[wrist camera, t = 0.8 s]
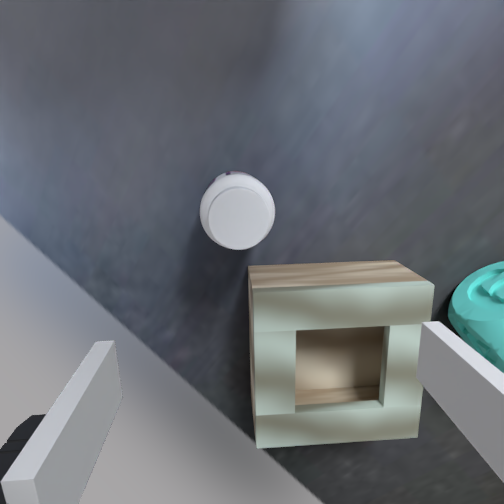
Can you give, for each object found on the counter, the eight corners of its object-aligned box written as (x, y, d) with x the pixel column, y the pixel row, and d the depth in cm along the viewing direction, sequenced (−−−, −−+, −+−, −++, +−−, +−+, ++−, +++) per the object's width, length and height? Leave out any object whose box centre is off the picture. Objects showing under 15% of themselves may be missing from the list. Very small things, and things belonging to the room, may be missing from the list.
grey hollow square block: (247, 265, 34) (253, 292, 27) (394, 260, 35) (434, 284, 28) (251, 396, 38) (256, 448, 31) (383, 388, 38) (417, 437, 32)
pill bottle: (224, 242, 33) (223, 275, 24) (192, 190, 32) (179, 204, 23) (276, 212, 33) (295, 234, 24) (246, 158, 32) (255, 159, 22)
